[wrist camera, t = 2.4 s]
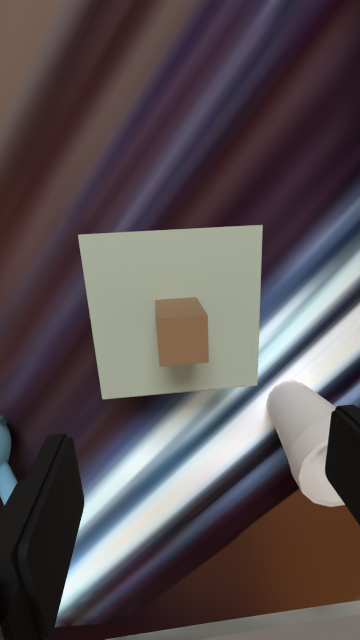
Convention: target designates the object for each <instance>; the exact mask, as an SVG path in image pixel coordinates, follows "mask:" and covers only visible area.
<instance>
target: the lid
mask: <svg viewBox="0 0 360 640" xmlns="http://www.w3.org/2000/svg"><path fill="white" fill-rule="evenodd" d="M262 226H263V225H253V226H234V227H216V228H197V229H178V230H159V231H140V232H121V233H102V234H83V235H78V238H79V245H80V252H81V258H82V265H83V272H84V278H85V285H86V292H87V299H88V305H89V312H90V319H91V325H92V332H93V339H94V346H95V352H96V359H97V366H98V372H99V379H100V386H101V393H102V399H111V398H122V397H134V396H145V395H156V394H167V393H178V392H189V391H201V390H212V389H223V388H234V387H245V386H256V385H257V374H258V345H259V315H260V285H261V255H262Z"/></svg>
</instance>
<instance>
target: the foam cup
mask: <svg viewBox="0 0 360 640" xmlns="http://www.w3.org/2000/svg"><path fill="white" fill-rule="evenodd" d="M267 406H268V410H269V412H270V415H271V418H272V420H273V423H274V425H275V428H276V430H277V433H278V436H279V438H280V441H281V443H282V446H283V448H284V451H285V453H286V456H287V458H288V461H289V465H290V469H291V472H292V475H293V477H294V479H295V481H296V482H297V484H298V486H299V488H300V490H301V491H302V493H303V494H304V495H305V496H307V497H308V498H309V499H310V500H311V501H312V502H313V503H317V504H321V505H325V506H329V507H333V506H340V505H345V504H344V502H343V501H342V500H341V498H340V497H339V495H338V494H337V492H336V491H335V490H334V488H333V487H332V485H331V484H330V482H329V481H328V479H327V477H326V474H325V462H326V454H327V445H328V437H329V428H330V420H331V413H332V411H335V408H336V407H335V406H334V405H332V404H331V403H329V402H328V401H327V400H325V399H324V398H322V397H321V396H320V395H318V394H317V393H315V392H314V391H313V390H311V389H310V388H308V387H307V386H306V385H304V384H303V383H300V382H297V381H294V380H292V381H284V382H282V383H280V384H279V385H277V386H275V387H274V388H273V390H272V391H271V392H270V393H269V395H268V399H267Z"/></svg>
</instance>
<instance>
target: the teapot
mask: <svg viewBox="0 0 360 640" xmlns="http://www.w3.org/2000/svg"><path fill="white" fill-rule="evenodd" d="M6 424H7V419H6V418H5V417H4V416H3V415H1V414H0V496H1V499H2V501H3V503H4V506H5V504H6V502H7V500H8V498H9V496H10V495H11V493H12V491H13V489H14V487H15V486H16V484H17V483H18V481H17V479H16V477H15V475H14V474H13V472H12V470H11V468H10V466H9V464H8V460H9V456H10V451H11V435H10V431H9V428H8V426H7V425H6Z"/></svg>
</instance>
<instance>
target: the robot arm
mask: <svg viewBox="0 0 360 640" xmlns="http://www.w3.org/2000/svg"><path fill="white" fill-rule="evenodd" d="M325 474H326V477H327V479H328V481H329V482H330V484H331V485H332V487H333V488H334V490H335V491H336V492H337V494H338V495H339V497H340V498H341V500H342V501H343V502H344V504H345V505H346V507H347V508H348V509H349V511H350V512H351V514H352V515H353V516H354V518H355V519H356V521H357V522H358V523H359V525H360V409H359V408H358V407H356V406H355V405H344V406H337V407H336V408H335V411H332V413H331V420H330V428H329V437H328V445H327V454H326V462H325ZM83 508H84V495H83V490H82V484H81V479H80V474H79V469H78V463H77V458H76V453H75V447H74V442H73V438H72V437H69V438H68V437H67V434H55V435H48V436H47V438H46V439H45V441H44V443H43V445H42V447H41V449H40V451H39V453H38V455H37V457H36V459H35V461H34V463H33V465H32V467H31V469H30V471H29V473H28V475H27V477H26V479H25V480H20V481H19V482H18V483H17V484H16V486H15V487H14V489H13V491H12V493H11V495H10V496H9V498H8V500H7V502H6V504H5V506H4V508H3V509H2V511H1V513H0V640H45V637H50V636H51V635H52V633H53V630H54V626H55V622H56V618H57V614H58V610H59V606H60V602H61V598H62V594H63V590H64V586H65V582H66V578H67V574H68V570H69V565H70V561H71V557H72V553H73V549H74V545H75V541H76V537H77V533H78V529H79V525H80V521H81V517H82V513H83ZM108 640H360V601H354V602H347V603H340V604H333V605H326V606H319V607H313V608H306V609H299V610H292V611H286V612H279V613H272V614H266V615H259V616H253V617H247V618H239V619H233V620H226V621H220V622H214V623H207V624H201V625H194V626H188V627H182V628H176V629H169V630H163V631H156V632H150V633H143V634H137V635H131V636H125V637H119V638H114V639H108Z"/></svg>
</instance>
